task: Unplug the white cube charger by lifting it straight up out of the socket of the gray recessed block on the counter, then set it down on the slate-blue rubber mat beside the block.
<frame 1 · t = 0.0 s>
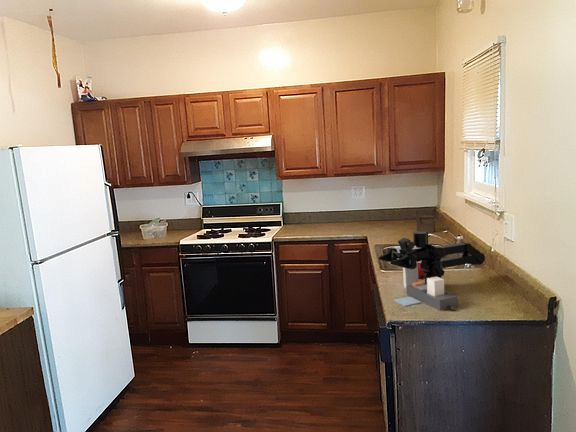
hand: (384, 260, 192), 17 cm above the worktop, tool horizontal, fingers open, 9 cm apart
mat: (407, 301, 187), on the worktop
charger: (435, 295, 184), point 3 cm above the worktop, touching gray recessed block
skincare box: (410, 287, 206), on the worktop
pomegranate: (416, 277, 221), on the worktop
gray recessed block: (431, 300, 187), on the worktop
clothes iron: (424, 231, 328), on the worktop
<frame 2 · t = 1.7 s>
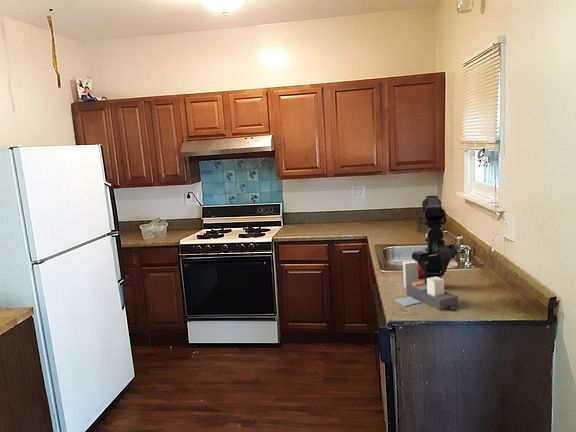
hand: (435, 273, 183), 12 cm above the worktop, tool pointing down, fingers open, 9 cm apart
nothing on the worktop moved.
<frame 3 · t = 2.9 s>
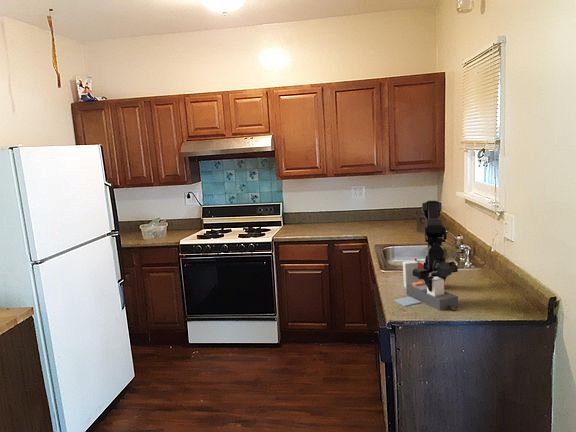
hand: (435, 290, 184), 5 cm above the worktop, tool pointing down, fingers closed on charger, 5 cm apart
charger: (435, 295, 184), point 3 cm above the worktop, touching gripper, gray recessed block
everything else where it was.
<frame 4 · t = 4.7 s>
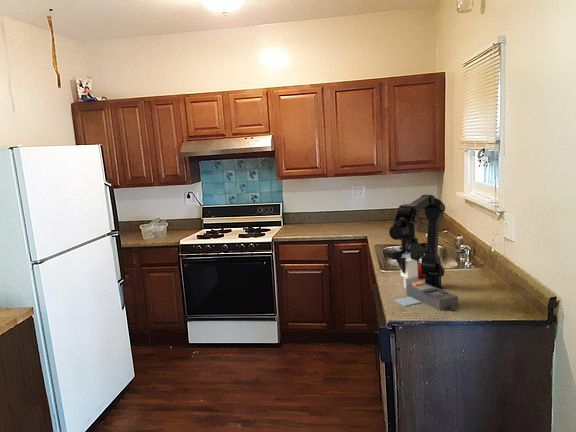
hand: (408, 271, 185), 13 cm above the worktop, tool pointing down, fingers closed on charger, 5 cm apart
charger: (409, 276, 185), point 11 cm above the worktop, touching gripper
everything else where it was.
when the fingers open (4 cm above the worktop, at t = 6.9 s): charger drops 1 cm, resting on mat.
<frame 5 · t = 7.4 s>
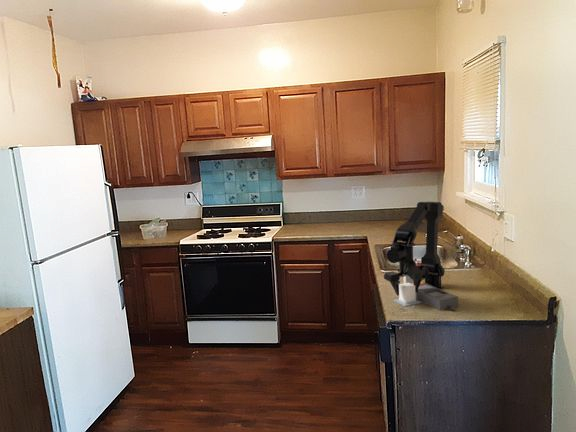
hand: (407, 293, 187), 4 cm above the worktop, tool pointing down, fingers open, 9 cm apart
charger: (407, 300, 187), resting on mat
everything else where it was.
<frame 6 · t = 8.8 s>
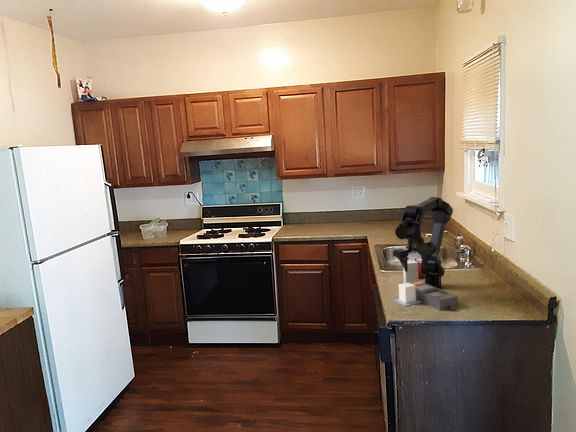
hand: (415, 270, 191), 12 cm above the worktop, tool pointing down, fingers open, 9 cm apart
nothing on the worktop moved.
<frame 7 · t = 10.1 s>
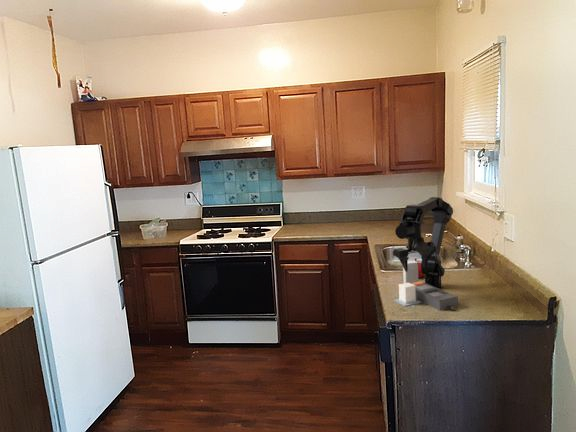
hand: (415, 269, 191), 12 cm above the worktop, tool pointing down, fingers open, 9 cm apart
nothing on the worktop moved.
at the end: charger inside the target area on the mat (0.1 cm from its centre), point 0.4 cm above the mat's base; charger tilted 0°; the gripper is holding nothing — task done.
